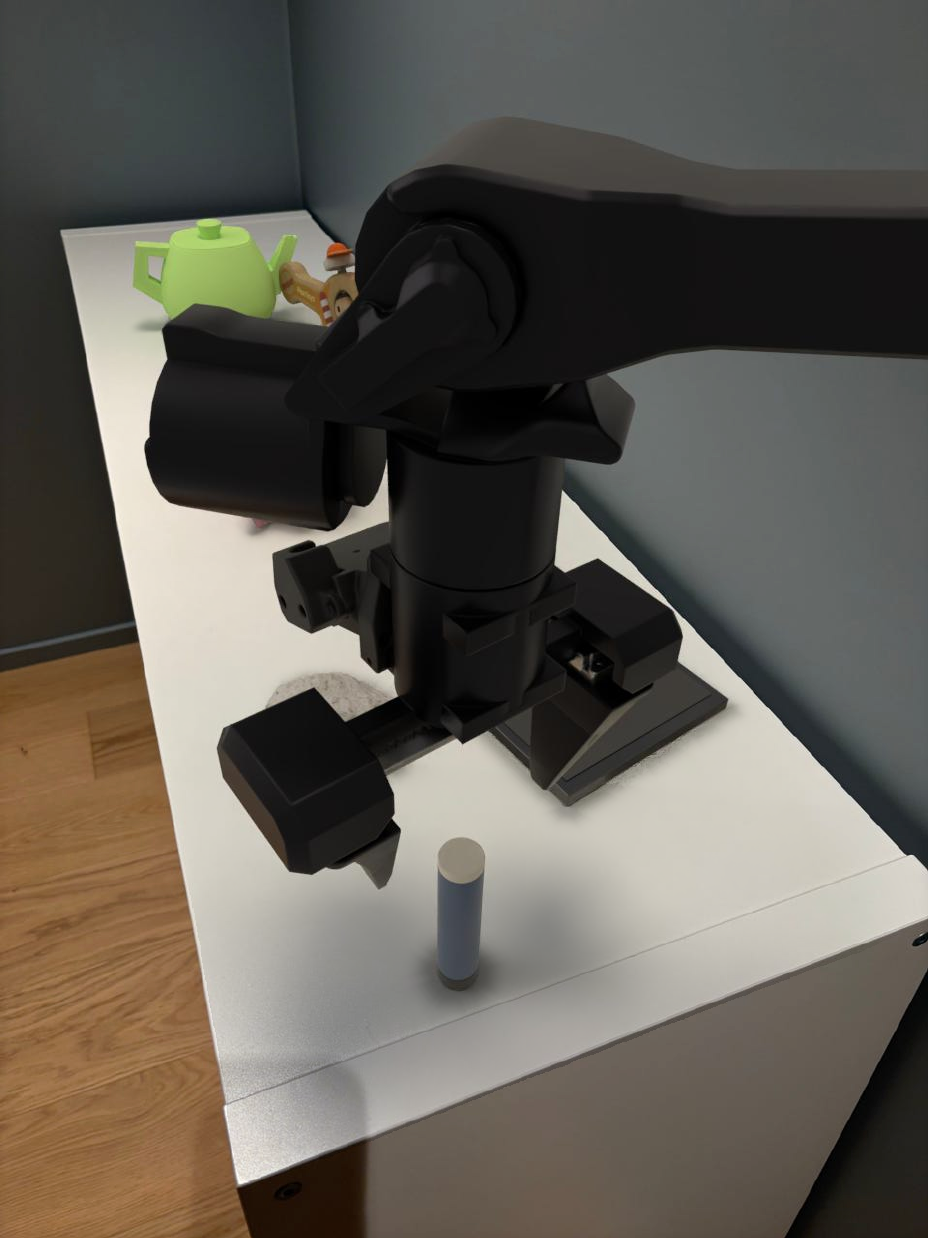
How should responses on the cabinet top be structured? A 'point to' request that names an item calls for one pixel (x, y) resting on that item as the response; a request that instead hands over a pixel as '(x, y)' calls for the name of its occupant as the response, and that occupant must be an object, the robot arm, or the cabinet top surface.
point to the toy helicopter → (322, 284)
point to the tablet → (626, 732)
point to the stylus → (459, 911)
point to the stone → (334, 693)
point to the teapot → (213, 270)
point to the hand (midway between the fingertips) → (462, 829)
